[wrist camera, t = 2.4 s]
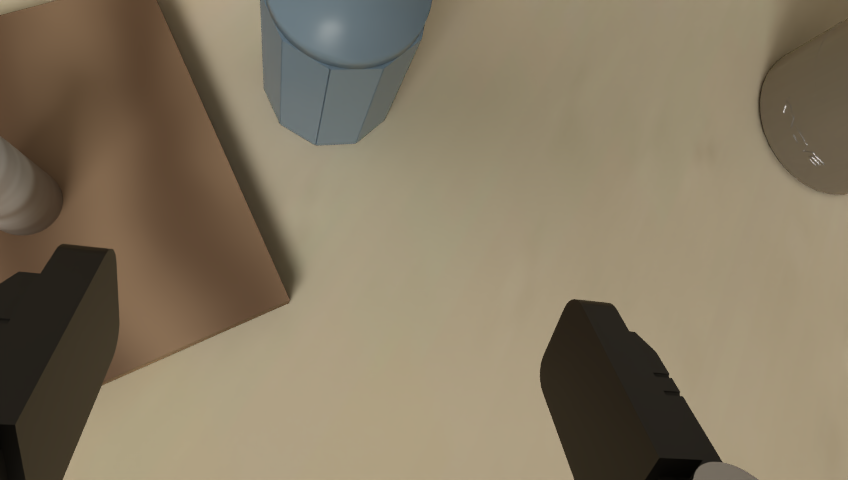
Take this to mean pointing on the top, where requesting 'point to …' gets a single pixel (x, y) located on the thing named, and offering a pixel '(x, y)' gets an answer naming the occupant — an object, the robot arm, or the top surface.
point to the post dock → (125, 175)
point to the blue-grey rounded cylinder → (337, 62)
